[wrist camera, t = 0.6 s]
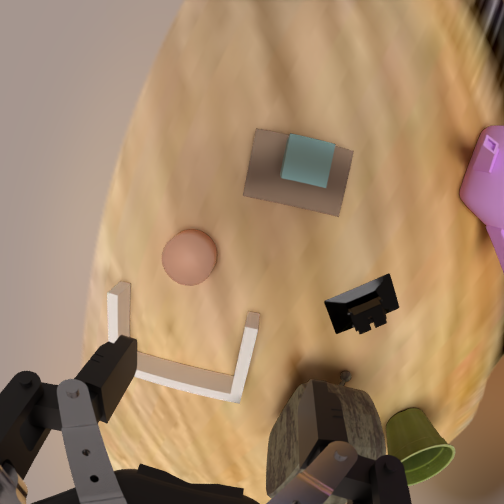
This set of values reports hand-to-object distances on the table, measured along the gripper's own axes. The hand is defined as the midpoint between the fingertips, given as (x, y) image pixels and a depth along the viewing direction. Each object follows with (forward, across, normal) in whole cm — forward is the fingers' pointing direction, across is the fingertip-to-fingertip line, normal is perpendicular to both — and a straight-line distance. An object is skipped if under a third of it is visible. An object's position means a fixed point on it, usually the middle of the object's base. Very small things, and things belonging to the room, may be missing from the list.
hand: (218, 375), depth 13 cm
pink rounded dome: (+24, +7, +4) cm, 26 cm away
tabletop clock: (+24, -13, +22) cm, 35 cm away
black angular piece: (+25, -15, +6) cm, 30 cm away
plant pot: (+24, -32, +27) cm, 48 cm away
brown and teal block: (+25, -3, -8) cm, 26 cm away
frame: (+24, +7, +16) cm, 30 cm away
